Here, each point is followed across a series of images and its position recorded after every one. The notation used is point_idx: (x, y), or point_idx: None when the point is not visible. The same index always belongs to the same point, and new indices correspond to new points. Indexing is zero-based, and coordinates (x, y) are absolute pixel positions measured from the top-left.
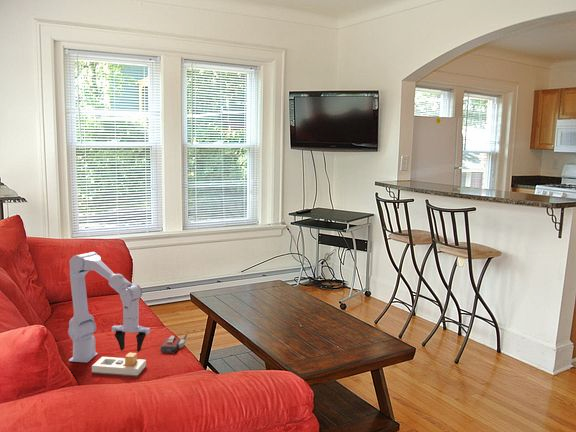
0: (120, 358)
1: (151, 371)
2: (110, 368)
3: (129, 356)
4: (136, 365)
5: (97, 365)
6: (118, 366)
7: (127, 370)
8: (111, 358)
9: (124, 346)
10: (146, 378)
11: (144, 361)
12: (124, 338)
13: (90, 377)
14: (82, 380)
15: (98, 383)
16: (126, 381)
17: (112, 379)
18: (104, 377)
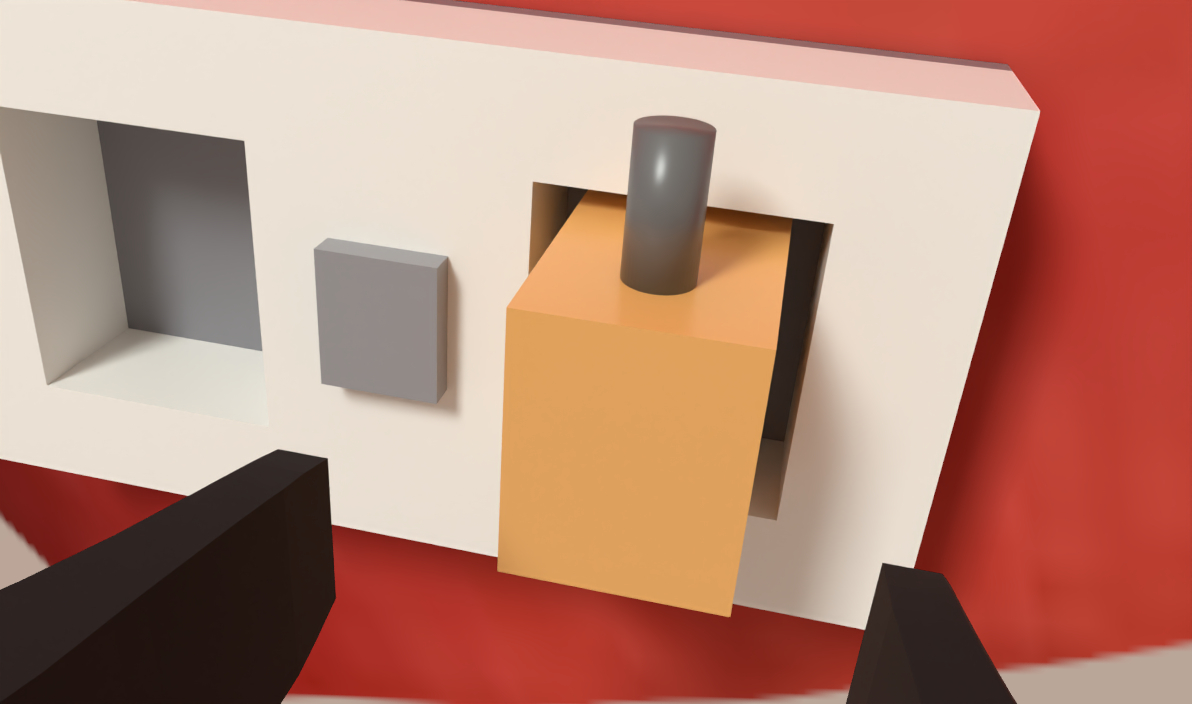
0: (303, 62)
1: (1173, 307)
2: None
3: (618, 579)
4: (832, 468)
5: (43, 445)
6: (450, 502)
7: None
8: (97, 71)
9: (292, 484)
10: (1080, 602)
11: (1006, 231)
12: (72, 660)
13: (129, 517)
14: None
15: (340, 693)
16: (730, 674)
17: (482, 597)
18: None
